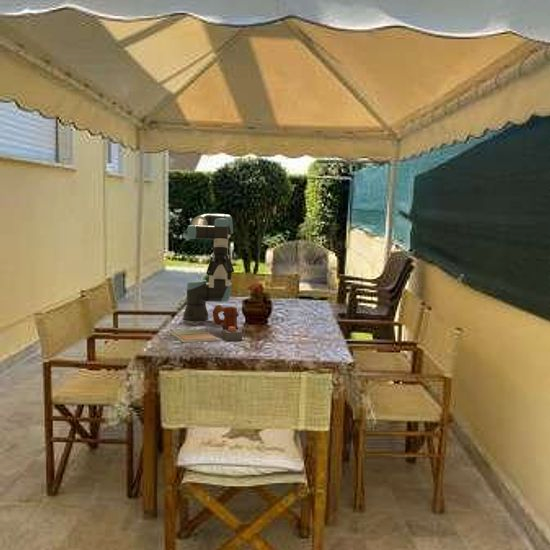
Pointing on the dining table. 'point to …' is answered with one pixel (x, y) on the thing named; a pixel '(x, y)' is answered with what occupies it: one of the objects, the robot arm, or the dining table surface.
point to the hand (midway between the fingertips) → (219, 286)
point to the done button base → (232, 335)
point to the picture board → (193, 335)
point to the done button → (231, 329)
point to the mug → (226, 316)
